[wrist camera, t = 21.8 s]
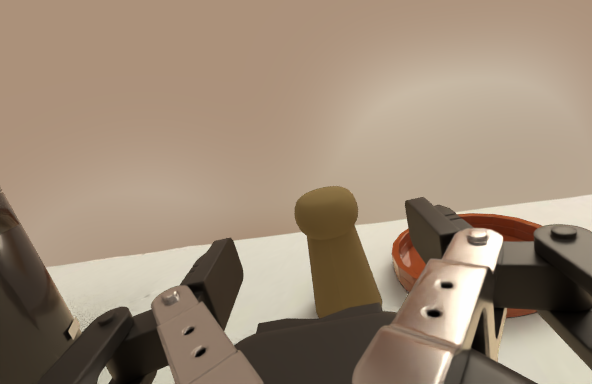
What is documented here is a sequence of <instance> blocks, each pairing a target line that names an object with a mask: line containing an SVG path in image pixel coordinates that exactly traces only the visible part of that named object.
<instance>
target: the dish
mask: <svg viewBox="0 0 592 384" xmlns="http://www.w3.org/2000/svg"><path fill="white" fill-rule="evenodd" d="M457 215H459V216H460V217H461V218H462V219H464V220H465V221H466V222H467V223H469V224H470V225H471V226H472V227H474V228H486V229H490V230H494V231H496V232H498V233H500V234H501V235H502V237H503V241H509V242H518V241H534V231H535V230H536V229H537V228H539V227H542V226H541V225H539V224H536V223H532V222H529V221H526V220H523V219H520V218H515V217H509V216H502V215H496V214H474V213H471V214H457ZM392 258H393V263H394V269H395V272H396V275H397V277H398V280H399V281H400V283H401V285H402V286H403V287H404V288H405V289H406V290H407V291H408V292H409V293H410V291H411V289H412V288H413V286H414V284H415V283H416V281H417V279H418V278H419V276H420V274H421V273H422V271H423V269H424V268H425V266H426V264H425V262H424V261H423V260H422V258H421V257H420V255H419V254H418V252H417V251H416V249H415V248H414V246H413V244H412V242H411V238H410V234H409V228H408V229H407V230H405V231H404V232H402V233H401V234H400V235H399V236H398V238H397V239H396V240H395V242H394V243H393V248H392ZM535 312H537V311H536V310H529V309H511V308H507V314H506V318H508V317H516V316H523V315H527V314H532V313H535Z"/></svg>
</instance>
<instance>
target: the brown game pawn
mask: <svg viewBox="0 0 592 384" xmlns="http://www.w3.org/2000/svg"><path fill="white" fill-rule="evenodd" d="M357 217H358V207H357V202H356V200H355V198H354V196H353V194H352V193H351V192H350V191H349V190H348V189H346V188H343V187H338V186H330V187H323V188H319V189H316V190H313V191H310V192H308V193H306V194H304V195H303V196H301V197H300V199H298V201H297V202H296V206H295V219H296V223H297V225H298V226H299V228H300V230H301V231H302V232H303V233H304V234H305V235H307V241H308V249H309V257H310V265H311V273H312V281H313V289H314V298H315V306H316V313H317V315H318V317H319V318H322V317H325V316H328V315H330V314H333V313H336V312H338V311H341V310H344V309H346V308H350V307H355V306H361V305H367V304H372V303H378V302H380V305H381V307H382V299H381V296H380V293H379V291H378V288H377V285H376V283H375V280H374V277H373V274H372V272H371V269H370V266H369V264H368V261H367V258H366V255H365V253H364V250H363V247H362V244H361V242H360V239H359V236H358V234H357V231H356V228H355V225H354V224H355V222H356V220H357Z"/></svg>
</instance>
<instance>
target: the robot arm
mask: <svg viewBox="0 0 592 384" xmlns="http://www.w3.org/2000/svg"><path fill="white" fill-rule="evenodd" d="M1 191H2V189H1V188H0V192H1ZM405 208H406V215H407V221H408V228H409V234H410V238H411V242H412V244H413V246H414V248H415V249H416V251H417V252H418V254H419V255H420V257H421V258H422V260H423V261H424V262H425V264H426V266H425V268H424V269H423V271H422V273H421V274H420V276H419V278H418V279H417V281H416V283H415V284H414V286H413V288H412V289H411V291H410V293H409V294H408V296H407V298H406V299H405V301H404V303H403V304H402V306H401V308H400V309H399V311H398V313H396V312H387V311H382V308H381V305H380V302H378V303H372V304H367V305H361V306H355V307H350V308H346V309H344V310H341V311H338V312H336V313H333V314H330V315H328V316H325V317H322V318H319V319H281V320H276V321H270V322H264V323H259V324H258V327H257V332H256V334H253V335H251V336H249V337H247V338H245V339H243V340H241V341H240V342H238V343H237V344H235V345H233V344H232V342H231V341H230V339H229V338H228V337H227V335H226V334H225V332H224V330H225V328H226V325H227V322H228V319H229V317H230V314H231V311H232V308H233V306H234V303H235V300H236V298H237V295H238V292H239V289H240V287H241V284H242V281H243V268H242V265H241V262H240V259H239V256H238V253H237V250H236V247H235V245H234V242H233V240H232V239H231V238H226V239H222V240H217V241H214V242H213V244H212V245H211V247H210V248H209V250H208V251H207V253H205V254H204V255H203V256H201V257H200V258H199V259H198V260H197V261H196V262H195V264H194V265H193V268H191V270H190V271H189V273H188V274H187V275H186V277H185V278H184V280H183V281H182V283H181V284H180V285H179V286H176V287H173V288H170V289H168V290H166V291H164V292H163V293H161V294H160V295H158V296H157V297H156V298H155V299H154V300H153V302H152V304H151V308H152V309H151V310H149V311H146V312H144V313H141V314H138V315H136V316H133V317H132V315H131V313H130V311H129V309H128V308H127V307H118V308H115V309H112V310H110V311H108V312H106V313H104V314H102V315H101V316H99V317H98V318H96V319H95V320H94V321H93V322H92V323H91V324H90V325H89V326H88V327H87V328H86V329H85V330H84V331H83V332H81V331H80V329H79V326H80V323H79V321H78V320H77V318H76V317H75V319H74V318H73V316H72V314H71V312H70V310H69V309H68V307H67V305H66V303H65V302H64V300H63V298H62V296H61V294H60V293H59V291H58V289H57V287H56V285H55V284H54V282H53V280H52V278H51V277H50V275H49V273H48V271H47V269H46V268H45V266H44V264H43V262H42V261H41V259H40V257H39V255H38V253H37V252H36V250H35V248H34V246H33V244H32V243H31V241H30V239H29V237H28V236H27V234H26V232H25V230H24V229H23V227H22V225H21V223H20V222H19V220H18V218H17V216H16V215H15V213H14V211H13V209H12V207H11V205H10V204H9V202H8V200H7V198H6V197H5V195H4V193H3V192H1V193H0V384H97V381H98V377H99V375H100V373H101V371H102V370H103V368H104V367H105V366H106V367H107V369H108V371H109V372H110V374H111V376H112V379H111V381H110V382H109V384H152V382H153V380H154V378H155V376H156V373H157V370H159V369H161V368H163V367H166V366H168V365H169V366H170V369H171V372H172V375H173V378H174V381H175V384H537V383H535V382H533V381H532V380H530V379H528V378H526V377H524V376H522V375H521V374H519V373H517V372H515V371H513V370H511V369H509V368H508V367H506V366H504V365H502V364H500V363H498V352H499V347H500V342H501V337H502V333H503V328H504V323H505V318H506V314H507V308H511V309H529V310H536V311H537V312H538V314H539V315H540V316H541V317H542V318H543V319H544V320H545V321H546V322H547V323H548V324H549V325H550V326H551V327H552V329H553V330H554V331H555V332H556V333H557V334H558V335H559V336H560V337H561V338H562V339H563V340H564V341H565V342H566V343H567V344H568V345H569V347H570V348H571V349H572V350H573V351H574V352H575V353H576V354H577V355H578V356H579V357H580V358H581V359H582V360H583V361H584V362H585V363H586V364H587V366H588V367H589V368H590V369H591V370H592V232H591V231H589V230H587V229H584V228H581V227H578V226H572V225H563V224H555V225H546V226H542V227H539V228H537V229H536V230H535V231H534V241H518V242H509V241H503V237H502V235H501V234H500V233H498V232H496V231H494V230H490V229H486V228H474V227H472V226H471V225H470V224H469V223H467V222H466V221H465V220H464V219H462V218H461V217H460V216H459V215H457V214H456V213H455V212H454V211H452V210H451V209H450V208H447V207H444V206H441V205H436V206H433V205H432V204H431V203H430V202H429V201H428V200H426V199H425V198H424V197H420V198H416V199H411V200H407V201H405Z"/></svg>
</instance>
